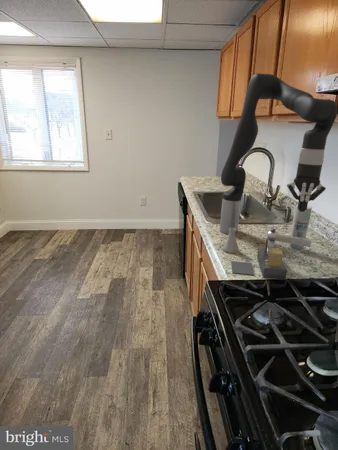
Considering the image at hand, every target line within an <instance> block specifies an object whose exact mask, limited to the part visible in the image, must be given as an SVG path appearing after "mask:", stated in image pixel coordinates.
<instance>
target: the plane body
mask: <svg viewBox="0 0 338 450" xmlns="http://www.w3.org/2000/svg"><path fill="white" fill-rule="evenodd" d="M275 242H276V241H271V240H268V239H267V238H265V244H264V248H258V249H257V254H256V258H257V262H258V265H259V268H260V273H261V276H262V278H263V279H270V280H271V279H272V280H280V281H281V280H282V279H287V275H288V268H287V267H286V264H285V263H284V262H285V261H284V260H283V259H282V264H281V268H278V267H269V264H268V261H267V260H268V254H269V248H275Z"/></svg>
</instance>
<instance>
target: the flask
mask: <svg viewBox="0 0 338 450" xmlns="http://www.w3.org/2000/svg"><path fill="white" fill-rule="evenodd" d="M235 231H236V229H235V228H229V234H227V239H226V241H225V243H224V244H223V246H222V248H221V250H222V251H223V252H225V253H230V254H235V253H239V246H238V242H237V238H236V233H235Z"/></svg>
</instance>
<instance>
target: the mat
mask: <svg viewBox="0 0 338 450" xmlns="http://www.w3.org/2000/svg"><path fill="white" fill-rule="evenodd" d="M230 264H231V271H232V273H231V274H236V275H246V276H255V272H254V268H253V263H252V262H245V261H235V260H231V262H230Z"/></svg>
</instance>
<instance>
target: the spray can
mask: <svg viewBox="0 0 338 450" xmlns="http://www.w3.org/2000/svg"><path fill="white" fill-rule="evenodd" d="M297 207H298V204H296V205H295V208H294V214H293V219H292V225H291V232H290V236H294V237H300V238H305V239H307V238H306V237H307V233H308V227H309V223H310V219H311V213H312V208H313V207H312V206H310V205H307V209H306V210H305V211H304V212H300V211H299V210H298V208H297ZM304 247H305V246H301V245H295V244H290V243H288V249H289V250H291V251H294V252H303V250H304V249H305V248H304Z"/></svg>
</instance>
